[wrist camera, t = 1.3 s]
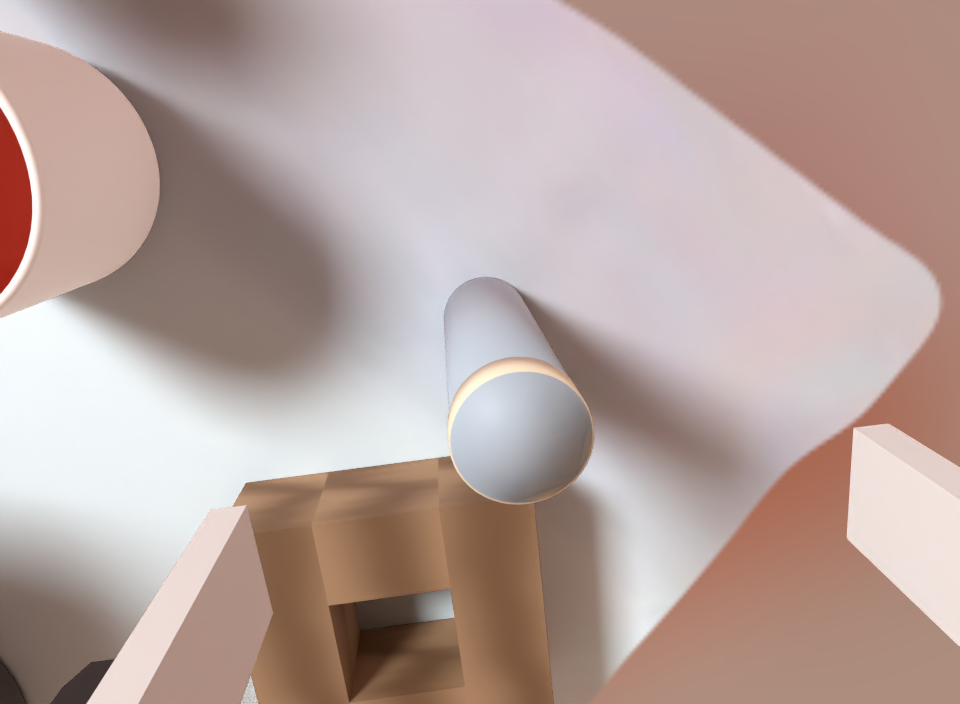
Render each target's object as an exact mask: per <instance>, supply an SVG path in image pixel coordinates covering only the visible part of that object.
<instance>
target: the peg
mask: <svg viewBox="0 0 960 704" xmlns="http://www.w3.org/2000/svg"><path fill="white" fill-rule="evenodd" d="M444 330H445V349H446V368H447V386H448V405H449V414H448V438H449V450H450V455H451V459H452V462H453V464H454V467H455V468H456V470H457V472H458V474H459V475H460V477H461V478H462V479H463V481H464V482H465V483H466V484H467V485H468V486H469V487H471V488H472V489H473V490H474V491H476V492H477V493H479V494H480V495H482V496H484V497H486V498H488V499H491V500H493V501H497V502H500V503H506V504H518V505H520V504H530V503H536V502H540V501H543V500H546V499H548V498H551V497H553V496H555V495H557V494H558V493H560V492H562V491H563V490H565V489H566V488H567V487H568V486H570V485H571V484H572V483H573V482H574V481H575V480H576V479H577V478H578V476H579V475H580V474H581V473H582V471H583V470H584V468H585V466H586V465H587V463H588V460H589V458H590V456H591V452H592V449H593V444H594V424H593V419H592V416H591V412H590V410H589V408H588V406H587V404H586V402H585V401H584V399H583V397H582V395H581V394H580V392H579V390H578V389H577V387H576V386H575V384H574V383H573V381H572V380H571V379H570V378H569V377H568V375H567V373H566V372H565V370H564V368H563V367H562V365H561V363H560V362H559V360H558V358H557V357H556V355H555V353H554V351H553V350H552V348H551V346H550V345H549V343H548V341H547V340H546V338H545V336H544V334H543V333H542V331H541V329H540V328H539V326H538V324H537V323H536V321H535V319H534V317H533V316H532V314H531V312H530V311H529V309H528V307H527V306H526V304H525V302H524V301H523V299H522V297H521V296H520V294H519V293H518V292H517V290H516V289H515V288H514V287H512V286H511V285H510V284H508V283H507V282H505V281H503V280H500V279H497V278H492V277H480V278H475V279H472V280H469V281H467V282H465V283H463V284H462V285H460V286H459V287H458V288H457V289H456V290H455V291H454V292H453V293H452V295H451V296H450V298H449V300H448V302H447V304H446V307H445V311H444Z"/></svg>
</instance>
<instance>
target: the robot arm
mask: <svg viewBox="0 0 960 704" xmlns="http://www.w3.org/2000/svg"><path fill="white" fill-rule="evenodd" d="M848 511H849V512H848V526H847V539H848V540H849V541H850V542H851V543H852V544H853V545H854V546H855V547H856V548H857V549H858V550H859V551H860V552H862V553H863V554H864V555H865V556H866V557H867V558H868V559H869V560H870V561H871V562H872V563H873V564H874V565H875V566H876V567H877V568H878V569H879V570H880V571H881V572H883V574H884V575H886V576H887V577H888V578H889V579H890V580H891V581H892V582H893V583H894V584H895V585H896V586H897V587H898V588H899V589H900V590H901V591H902V592H903V593H904V594H905V595H907V596H908V598H909V599H910V600H912V601H913V602H914V603H915V604H916V605H917V606H918V607H919V608H920V609H921V610H922V611H923V612H924V613H925V614H926V615H927V616H928V617H930V619H931V620H932V621H933V622H935V624H937V625H938V626H939V627H940V628H941V629H942V630H943V631H944V632H945V633H946V634H947V635H948V636H949V637H950V638H952V640H953V641H954V642H955V643H956V644H957V645H958V646H959V647H960V467H958V466H957V465H955V464H953V463H952V462H950V461H948V460H947V459H945V458H943V457H942V456H940V455H938V454H937V453H935V452H934V451H932V450H931V449H929V448H927V447H926V446H924V445H922V444H921V443H919V442H917V441H916V440H914V439H913V438H911V437H909V436H908V435H906V434H904V433H903V432H901V431H900V430H898V429H896V428H895V427H893V426H891V425H890V424H881V425H874V426H866V427H858V428H854V431H853V446H852V463H851V479H850V494H849V510H848ZM272 615H273V611H272V607H271V603H270V599H269V595H268V591H267V586H266V582H265V578H264V574H263V570H262V566H261V562H260V558H259V554H258V550H257V546H256V541H255V537H254V533H253V529H252V525H251V521H250V517H249V513H248V509H247V505H244V506H236V507H228V508H220V509H212V510H210V511H209V513H208V514H207V516H206V517H205V519H204V521H203V522H202V524H201V525H200V527H199V528H198V530H197V532H196V533H195V535H194V536H193V538H192V539H191V541H190V542H189V544H188V546H187V547H186V549H185V550H184V552H183V553H182V555H181V557H180V558H179V560H178V561H177V563H176V564H175V566H174V568H173V569H172V571H171V572H170V574H169V575H168V577H167V579H166V580H165V582H164V583H163V585H162V586H161V588H160V589H159V591H158V593H157V594H156V596H155V597H154V599H153V600H152V602H151V604H150V605H149V607H148V608H147V610H146V611H145V613H144V615H143V616H142V618H141V619H140V621H139V622H138V624H137V625H136V627H135V629H134V630H133V632H132V633H131V635H130V636H129V638H128V640H127V641H126V643H125V644H124V646H123V647H122V649H121V651H120V652H119V654H118V655H117V657H116V658H115V659H113V660H105V661H98V662H91V663H90V664H89V665H88V666H87V667H85V668H84V669H83V670H82V671H81V672H80V673H79V674H77V675H76V676H75V677H74V678H73V679H72V680H71V681H69V682H68V683H67V684H66V685H65V686H64V687H63V688H62V689H61V690H60V692H59V693H58V694H57V696H56V697H55V699H54V700H53V701H52V703H51V704H240V703H241V700H242V698H243V695H244V692H245V689H246V687H247V684H248V681H249V678H250V676H251V673H252V670H253V667H254V664H255V662H256V659H257V656H258V653H259V651H260V648H261V645H262V642H263V640H264V637H265V634H266V631H267V629H268V626H269V623H270V620H271V617H272ZM0 704H25V701H24V699H23V696H22V694H21V692H20V690H19V688H18V686H17V684H16V682H15V681H14V679H13V678H12V676H11V675H10V673H9V672H8V671H7V669H6V668H5V667H4V666H3V665H2V663H1V662H0Z"/></svg>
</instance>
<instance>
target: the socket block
mask: <svg viewBox="0 0 960 704" xmlns="http://www.w3.org/2000/svg"><path fill="white" fill-rule="evenodd" d="M244 505H247V509H248V513H249V517H250V521H251V525H252V529H253V533H254V537H255V541H256V546H257V550H258V554H259V558H260V562H261V566H262V570H263V574H264V578H265V582H266V586H267V591H268V595H269V599H270V603H271V607H272V611H273V615H272V617H271V620H270V623H269V626H268V629H267V631H266V634H265V637H264V640H263V642H262V645H261V648H260V651H259V653H258V656H257V659H256V662H255V664H254V667H253V670H252V673H251V677H252V681H253V685H254V688H255V692H256V696H257V700H258V703H259V704H554V701H553V691H552V681H551V671H550V660H549V650H548V640H547V630H546V620H545V609H544V599H543V589H542V579H541V569H540V558H539V548H538V538H537V528H536V518H535V507H534V503H530V504H520V505H518V504H506V503H500V502H497V501H493V500H491V499H488V498H486V497H484V496H482V495H480V494H479V493H477V492H476V491H474V490H473V489H472V488H471V487H469V486H468V485H467V484H466V483H465V482H464V481H463V479H462V478H461V477H460V475H459V474H458V472H457V470H456V468H455V467H454V464H453V462H452V459H451V456H449V457H441V458H434V459H426V460H418V461H411V462H403V463H395V464H388V465H380V466H372V467H365V468H357V469H349V470H342V471H334V472H326V473H319V474H311V475H303V476H295V477H288V478H280V479H272V480H265V481H257V482H249V483H246V484H245V486H244V487H243V489H242V491H241V493H240V494H239V496H238V498H237V500H236V501H235V503H234V505H233V507H236V506H244ZM447 589H451V595H452V602H453V609H454V616H455V618H451V619H443V620H436V621H429V622H422V623H414V624H407V625H400V626H392V627H385V628H378V629H371V630H363V631H360V626H359V621H358V616H357V611H356V606H355V602H359V601H366V600H374V599H381V598H388V597H396V596H403V595H410V594H418V593H425V592H432V591H440V590H447Z"/></svg>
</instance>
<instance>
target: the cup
mask: <svg viewBox="0 0 960 704" xmlns="http://www.w3.org/2000/svg"><path fill="white" fill-rule="evenodd" d="M159 195H160V176H159V168H158V162H157V157H156V153H155V150H154V147H153V144H152V141H151V139H150V137H149V134H148V132H147V129H146V127H145V125H144V123H143V122H142V120H141V118H140V116H139V115H138V113H137V112H136V110H135V109H134V107H133V106H132V104H131V103H130V102H129V100H128V99H127V98H126V97H125V96H124V95H123V93H122V92H121V91H120V90H119V89H118V88H117V87H116V86H115V85H114V84H113V83H112V82H111V81H110V80H109V79H108V78H106V77H105V76H104V75H103V74H102V73H100V72H99V71H98V70H97V69H95V68H94V67H92V66H91V65H89V64H88V63H86V62H85V61H83V60H82V59H80V58H78V57H76V56H74V55H72V54H70V53H68V52H66V51H64V50H62V49H59V48H57V47H54V46H51V45H49V44H45V43H42V42H38V41H35V40H31V39H27V38H24V37H20V36H16V35H13V34H9V33H5V32H2V31H0V318H2V317H4V316H7V315H10V314H12V313H15V312H17V311H20V310H23V309H25V308H28V307H30V306H33V305H36V304H38V303H41V302H43V301H46V300H48V299H51V298H54V297H56V296H59V295H61V294H64V293H67V292H69V291H72V290H74V289H77V288H80V287H82V286H85V285H87V284H90V283H93V282H95V281H97V280H99V279H102V278H104V277H106V276H108V275H109V274H111V273H113V272H114V271H116V270H117V269H119V268H120V267H121V266H123V265H124V264H125V263H126V262H127V261H128V260H129V259H130V258H131V257H132V256H133V255H134V254H135V253H136V252H137V251H138V249H139V248H140V247H141V245H142V244H143V242H144V241H145V239H146V237H147V236H148V234H149V232H150V230H151V227H152V225H153V222H154V219H155V216H156V212H157V208H158V203H159Z"/></svg>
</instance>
